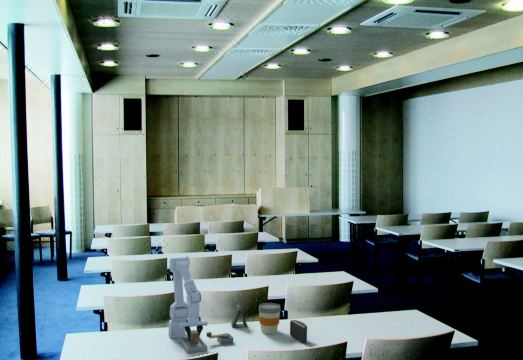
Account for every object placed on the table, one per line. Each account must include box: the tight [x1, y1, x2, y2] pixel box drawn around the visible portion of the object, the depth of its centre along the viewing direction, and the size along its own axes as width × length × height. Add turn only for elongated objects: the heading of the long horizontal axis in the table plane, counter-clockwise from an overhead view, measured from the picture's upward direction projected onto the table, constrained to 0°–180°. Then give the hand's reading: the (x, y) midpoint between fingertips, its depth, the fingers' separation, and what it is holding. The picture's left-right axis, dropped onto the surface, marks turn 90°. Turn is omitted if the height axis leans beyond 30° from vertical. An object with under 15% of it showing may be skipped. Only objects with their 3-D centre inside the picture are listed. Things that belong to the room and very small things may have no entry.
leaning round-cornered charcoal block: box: [289, 319, 308, 345], centre depth 327 cm, size 16×5×9 cm, turn 27°
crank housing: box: [216, 333, 234, 346], centre depth 325 cm, size 7×14×3 cm, turn 20°
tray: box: [179, 336, 208, 354], centre depth 313 cm, size 11×17×2 cm, turn 20°
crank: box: [206, 331, 230, 339], centre depth 320 cm, size 12×4×3 cm, turn 110°
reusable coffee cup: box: [258, 302, 282, 335], centre depth 339 cm, size 13×13×15 cm
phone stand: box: [230, 304, 249, 329], centre depth 349 cm, size 9×6×12 cm, turn 99°
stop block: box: [189, 329, 199, 345], centre depth 313 cm, size 4×5×6 cm
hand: (193, 339), depth 313 cm, fingers closed on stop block, 4 cm apart
